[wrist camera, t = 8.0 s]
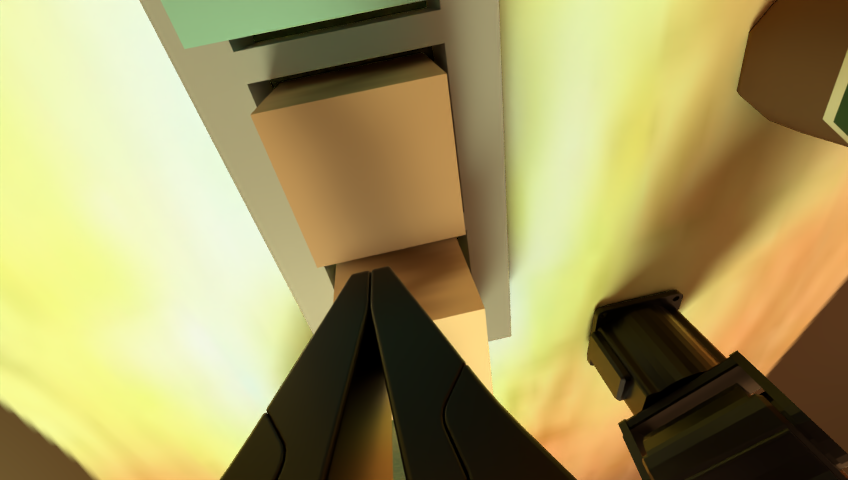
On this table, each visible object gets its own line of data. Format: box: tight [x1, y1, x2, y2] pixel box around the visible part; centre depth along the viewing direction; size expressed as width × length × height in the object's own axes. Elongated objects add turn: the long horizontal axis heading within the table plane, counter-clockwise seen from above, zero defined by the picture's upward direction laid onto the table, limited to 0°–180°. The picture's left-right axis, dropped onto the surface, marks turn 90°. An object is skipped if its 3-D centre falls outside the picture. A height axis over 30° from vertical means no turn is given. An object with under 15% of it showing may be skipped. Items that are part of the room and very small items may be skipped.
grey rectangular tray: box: [140, 0, 511, 341], centre depth 16 cm, size 11×26×3 cm, turn 9°
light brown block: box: [333, 237, 493, 420], centre depth 17 cm, size 6×6×5 cm
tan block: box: [251, 52, 466, 268], centre depth 15 cm, size 6×6×5 cm
